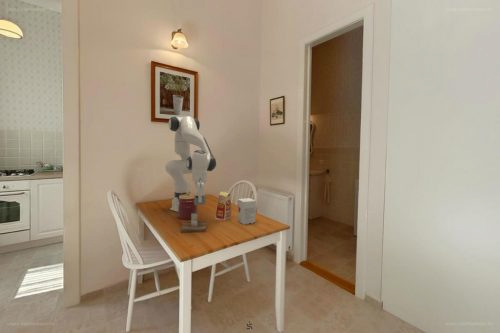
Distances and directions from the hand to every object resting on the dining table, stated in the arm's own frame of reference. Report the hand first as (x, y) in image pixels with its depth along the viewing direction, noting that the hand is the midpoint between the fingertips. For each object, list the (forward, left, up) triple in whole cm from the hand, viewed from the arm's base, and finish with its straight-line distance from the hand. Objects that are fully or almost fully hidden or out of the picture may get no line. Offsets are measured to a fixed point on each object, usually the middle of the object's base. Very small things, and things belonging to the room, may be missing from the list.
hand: (199, 200), depth 131 cm
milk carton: (-17, +16, -17) cm, 29 cm away
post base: (0, -3, -17) cm, 17 cm away
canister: (-23, -9, -17) cm, 30 cm away
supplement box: (-7, +30, -17) cm, 35 cm away
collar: (0, 0, -2) cm, 2 cm away
